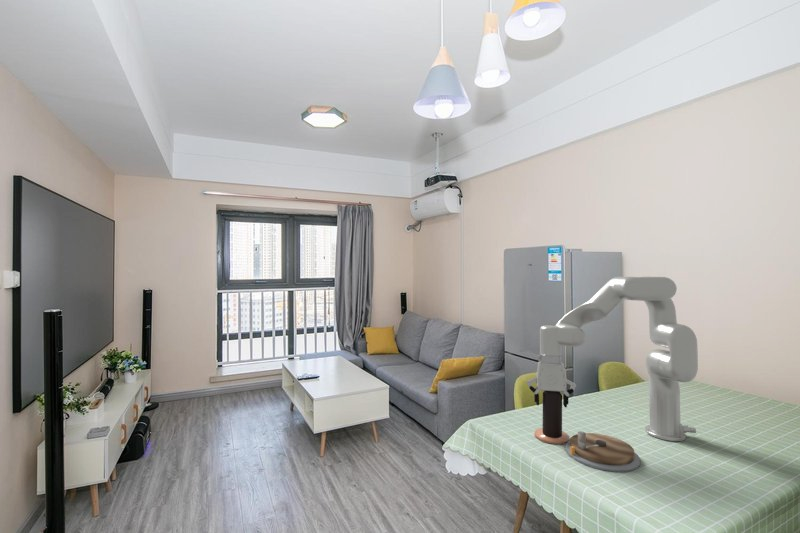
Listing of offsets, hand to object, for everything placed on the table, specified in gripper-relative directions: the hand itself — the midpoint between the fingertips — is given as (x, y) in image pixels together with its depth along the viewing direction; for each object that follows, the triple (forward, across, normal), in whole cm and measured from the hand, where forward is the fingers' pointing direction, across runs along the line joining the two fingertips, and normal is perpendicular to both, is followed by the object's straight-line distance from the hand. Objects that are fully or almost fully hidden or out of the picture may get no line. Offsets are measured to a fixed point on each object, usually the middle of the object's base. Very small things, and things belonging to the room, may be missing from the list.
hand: (551, 405), depth 142 cm
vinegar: (+11, 0, 0) cm, 11 cm away
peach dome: (+12, 0, 0) cm, 12 cm away
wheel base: (+12, +14, -11) cm, 21 cm away
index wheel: (+10, +14, -11) cm, 21 cm away
